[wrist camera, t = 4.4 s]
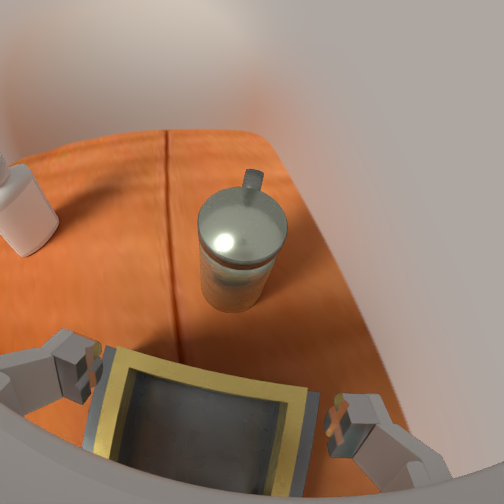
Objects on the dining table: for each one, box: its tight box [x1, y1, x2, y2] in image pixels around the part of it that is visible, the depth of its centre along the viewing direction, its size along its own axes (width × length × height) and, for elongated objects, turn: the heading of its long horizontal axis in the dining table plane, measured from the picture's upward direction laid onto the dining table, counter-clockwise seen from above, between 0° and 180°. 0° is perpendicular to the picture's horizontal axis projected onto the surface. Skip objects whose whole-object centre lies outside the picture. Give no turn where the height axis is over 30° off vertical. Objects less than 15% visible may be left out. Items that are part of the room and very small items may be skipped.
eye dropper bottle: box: [0, 152, 59, 257], centre depth 19 cm, size 4×6×12 cm
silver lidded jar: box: [198, 169, 288, 313], centre depth 21 cm, size 5×7×9 cm
